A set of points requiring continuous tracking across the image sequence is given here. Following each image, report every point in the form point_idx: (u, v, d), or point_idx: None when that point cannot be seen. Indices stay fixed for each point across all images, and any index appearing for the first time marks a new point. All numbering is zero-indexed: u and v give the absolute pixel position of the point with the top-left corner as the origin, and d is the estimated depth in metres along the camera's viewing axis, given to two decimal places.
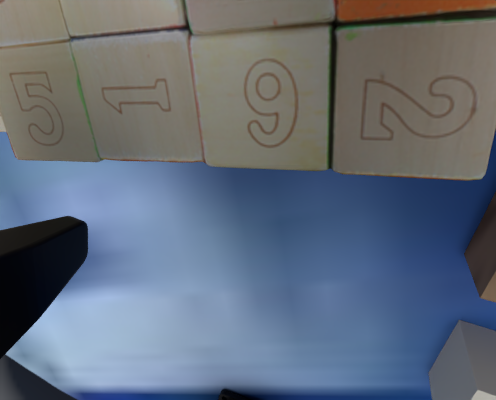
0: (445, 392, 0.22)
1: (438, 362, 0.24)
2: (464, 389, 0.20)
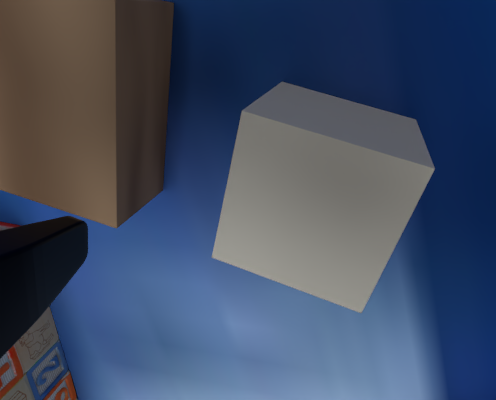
0: None
1: None
2: None
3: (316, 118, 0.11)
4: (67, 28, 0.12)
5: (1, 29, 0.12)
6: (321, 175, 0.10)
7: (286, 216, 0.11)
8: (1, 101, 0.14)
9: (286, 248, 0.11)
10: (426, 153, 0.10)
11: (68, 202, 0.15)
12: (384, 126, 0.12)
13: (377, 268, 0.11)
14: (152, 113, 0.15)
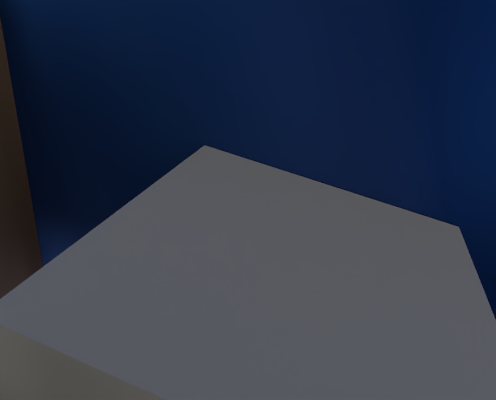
0: None
1: None
2: None
3: (228, 292, 0.04)
4: None
5: None
6: None
7: None
8: None
9: None
10: None
11: None
12: (401, 282, 0.05)
13: None
14: None
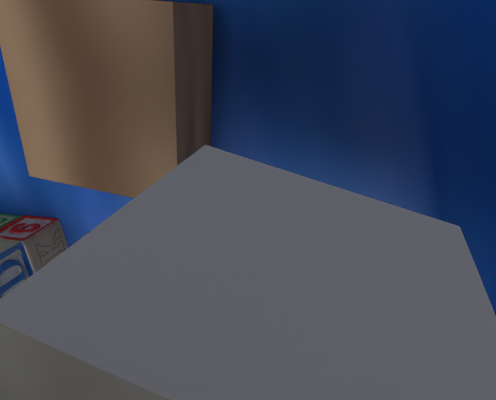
0: None
1: None
2: None
3: (229, 290, 0.04)
4: (132, 32, 0.14)
5: (74, 40, 0.14)
6: None
7: None
8: (73, 104, 0.16)
9: None
10: None
11: (133, 188, 0.17)
12: (402, 282, 0.05)
13: None
14: (200, 103, 0.17)
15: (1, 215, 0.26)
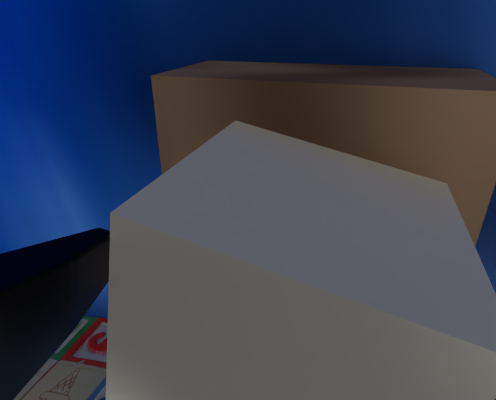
0: None
1: None
2: None
3: (272, 211, 0.06)
4: (418, 139, 0.08)
5: None
6: (276, 340, 0.05)
7: (217, 395, 0.06)
8: None
9: None
10: (490, 294, 0.05)
11: None
12: (399, 213, 0.06)
13: None
14: None
15: None
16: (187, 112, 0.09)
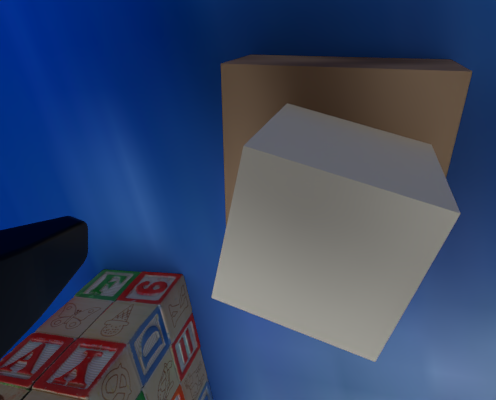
0: None
1: None
2: None
3: (325, 150, 0.10)
4: (405, 104, 0.12)
5: None
6: (332, 216, 0.09)
7: (292, 258, 0.10)
8: None
9: (292, 291, 0.10)
10: (448, 191, 0.09)
11: None
12: (399, 157, 0.11)
13: (393, 316, 0.10)
14: None
15: (117, 272, 0.25)
16: (245, 89, 0.13)
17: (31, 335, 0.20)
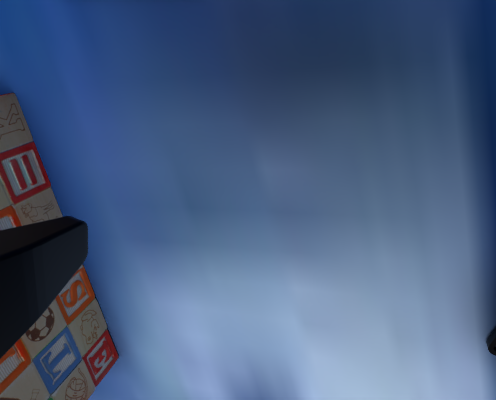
0: None
1: None
2: None
3: None
4: None
5: None
6: None
7: None
8: None
9: None
10: None
11: None
12: None
13: None
14: None
15: None
16: None
17: None
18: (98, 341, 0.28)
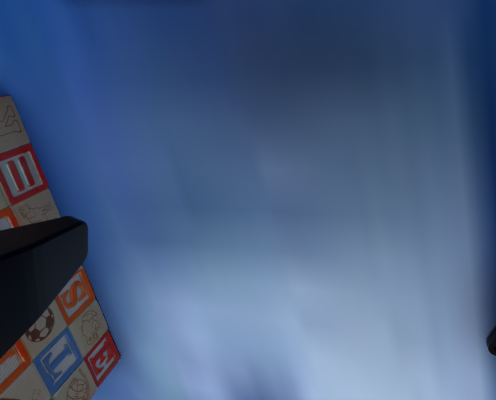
0: None
1: None
2: None
3: None
4: None
5: None
6: None
7: None
8: None
9: None
10: None
11: None
12: None
13: None
14: None
15: None
16: None
17: None
18: (99, 342, 0.28)
